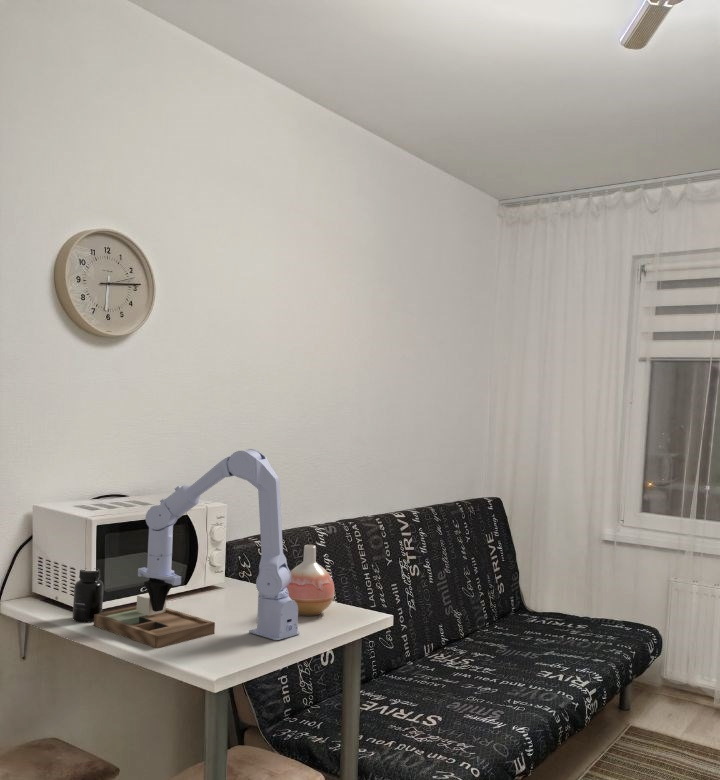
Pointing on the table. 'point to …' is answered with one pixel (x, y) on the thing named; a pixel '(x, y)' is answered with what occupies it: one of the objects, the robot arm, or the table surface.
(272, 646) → the table surface
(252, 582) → the table surface
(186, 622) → the tray
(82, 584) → the supplement bottle
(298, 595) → the vase
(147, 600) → the cream block
